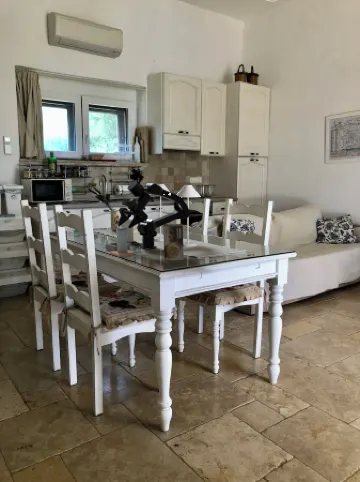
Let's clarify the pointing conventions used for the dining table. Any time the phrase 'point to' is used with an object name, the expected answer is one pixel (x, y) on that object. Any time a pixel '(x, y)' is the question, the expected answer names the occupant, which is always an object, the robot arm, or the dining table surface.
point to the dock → (113, 249)
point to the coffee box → (173, 241)
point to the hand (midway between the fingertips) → (123, 226)
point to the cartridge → (121, 239)
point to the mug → (128, 230)
